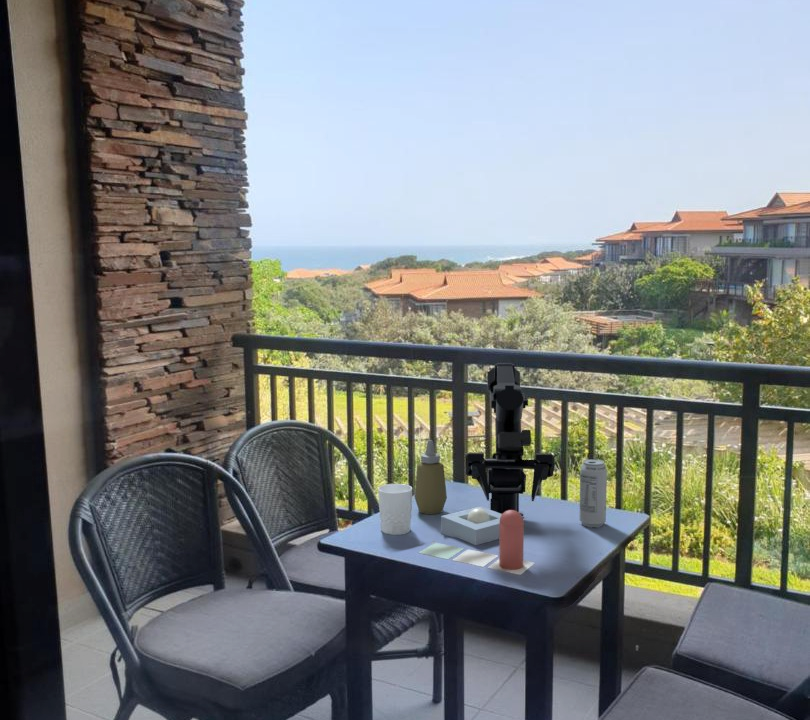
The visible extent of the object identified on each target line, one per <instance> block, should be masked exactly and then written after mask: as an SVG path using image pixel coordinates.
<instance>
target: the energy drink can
mask: <svg viewBox="0 0 810 720" xmlns="http://www.w3.org/2000/svg"><path fill="white" fill-rule="evenodd" d="M582 462H583V463H582V464H581V467H580V468H579V469H580V470H579V471H580V473H579V474H580V475H579V477H580V478H579V521H580V522H581V525H582V526H584V527H586V526H587V527H588V528H592V527H597V528H601V527H600V526H602V525H603V526H604V524H605V523H606V522H607V488H608V487H607V485H608V484H607V483H608V482H607V480H608V476H607V475H608V469H607V467H606V465H605V461H603V460H602V459H596V458H595V459H591V458H588V459H584V460H583V461H582ZM603 526H602V527H603ZM587 527H586V528H587Z"/></svg>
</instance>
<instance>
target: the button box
mask: <svg viewBox="0 0 810 720" xmlns="http://www.w3.org/2000/svg"><path fill="white" fill-rule="evenodd" d="M476 508H480V509H483V510H485V511H486V512H487V513H488V515H489V521H487V522H484V523H480V524H475V523H473V522H470V521H467V517H468V514H469V513H470V511H472V510H473V509H476ZM501 515H502V514H501V513H498V512H495V511H492V510H490V508H486V507H483V506H477V507H476V506H475V507H473V508H468V509H464V510H461V511H456V512H452V513H448V514H444V515H440V534H443V535H444V534H445V536H446V537H449V536H450V537H449V538H458V539H460V540H462V541H465V542H467V543H469V544H472V545H474V546H478V545H482V544H485V543H489V542H492V541H496V540H499V533H500V517H501Z"/></svg>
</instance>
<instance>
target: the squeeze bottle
mask: <svg viewBox="0 0 810 720" xmlns="http://www.w3.org/2000/svg"><path fill="white" fill-rule="evenodd" d="M440 461H441V456H440V454H439V453H437V452H436V450H435V445H434V441H433V440H432V439H428V440H427V444H426V447H425V452H424V453H422V454H421V455H420V462H419V463H418V464H417V466H416V476H415V486H414V487H415V488H414V495H413V496H414V500H415V502H416V503H415V504H416V505H417V508H418V509H417V510H418V512H419V513H421V514H423V515H424V514H425V515H438V514H441V513H442V512H443V511H444V507H445V504H446V502H447V498H448V496H447V486H446V477H445V476H446V475H445V467H444V464H443V463H442V462H440Z"/></svg>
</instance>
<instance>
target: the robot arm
mask: <svg viewBox="0 0 810 720" xmlns="http://www.w3.org/2000/svg"><path fill="white" fill-rule="evenodd" d="M486 374H487V376H486V377H487V378H486V392H489V400H490V409H493V413H494V414H495V417H494V421H495V422H494V423H495V424H494V426H495V431H494V432H495V452H494V453H493V454H492V456H491V458H485V453H484V452H473V451H472V452H470V451H469V452H467V453H466V454H465V476H468V477H471V479H473V480H476V481H477V482H478V484H479V486H480V487H481V490H482V492H483V494H484V496H485V499H486V501H487V502H488V501H490V506H489V507H490V508H489V509H490V510H492V511H495V512H498V513H501V514H503V513H504V512H505V511H508V510H515V511H517V512H519V511H520V509H519V508H520V504H519V503H520V494H521V495H523V494H524V493H525V492H526V483H527V474H526V473H525V471H524V470H533V478H532V486H531V502H535V499H536V497H537V495H536V494H537V492H538V490H539V487H540V485H541V483H542V482H543V481H546V480H547V479H548V478H551V477H553V476H554V472H555V471H554V470H555V464H556V462H555V456H554V454H552V453H550V452H548V453H547V452H544V453H541V452H535V454H534V459H523V458H524V447H531V445H532V434H531V432H532V431H531V429H522V417H523V410H524V409H526V406H527V407H528V406H529V399H528V398H527V397H526V394H525V393H524V392H522V388H521V372H520V371H519V370H517V369H516V368H515V363H512V362H497V363H496V364H495V363H494V367H493V368H492V369H490V370H489V371H487V373H486ZM490 495H491V498H490ZM519 513H520V514H521V515H522V517H524V514H523V513H522V512H519Z"/></svg>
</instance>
